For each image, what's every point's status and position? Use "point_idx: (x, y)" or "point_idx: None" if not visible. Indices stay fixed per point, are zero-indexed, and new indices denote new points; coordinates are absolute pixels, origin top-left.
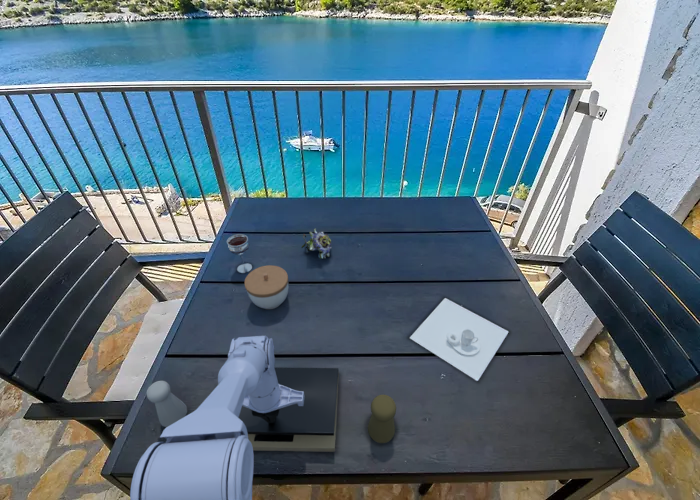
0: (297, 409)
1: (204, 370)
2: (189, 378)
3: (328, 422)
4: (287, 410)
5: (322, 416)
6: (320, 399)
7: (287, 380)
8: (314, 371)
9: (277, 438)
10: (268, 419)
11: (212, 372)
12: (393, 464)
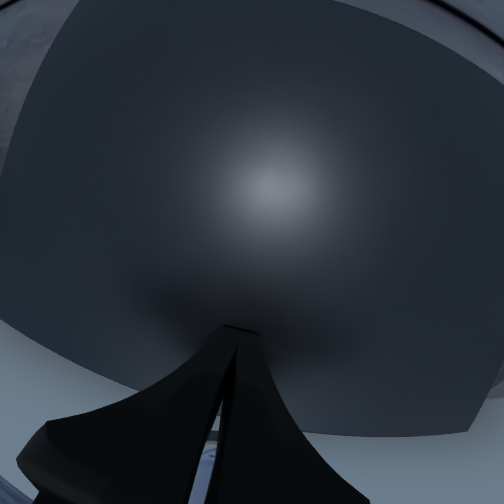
0: (385, 310)
1: (29, 25)
2: (2, 56)
3: (474, 393)
4: (329, 309)
5: (470, 366)
6: (489, 265)
7: (336, 69)
8: (464, 73)
9: None
10: (208, 435)
11: (44, 25)
12: (498, 390)
